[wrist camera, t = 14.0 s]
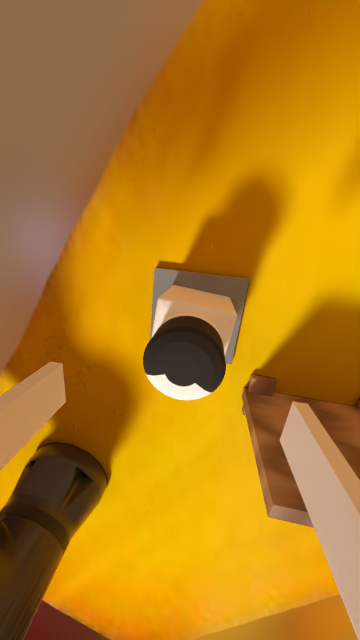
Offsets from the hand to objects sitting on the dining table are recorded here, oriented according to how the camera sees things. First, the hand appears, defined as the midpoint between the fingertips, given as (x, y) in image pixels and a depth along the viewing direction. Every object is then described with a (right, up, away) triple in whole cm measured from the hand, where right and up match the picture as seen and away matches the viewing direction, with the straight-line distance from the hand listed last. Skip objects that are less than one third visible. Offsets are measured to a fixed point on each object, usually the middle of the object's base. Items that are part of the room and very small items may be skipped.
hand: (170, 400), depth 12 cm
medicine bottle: (+2, +5, +14) cm, 15 cm away
